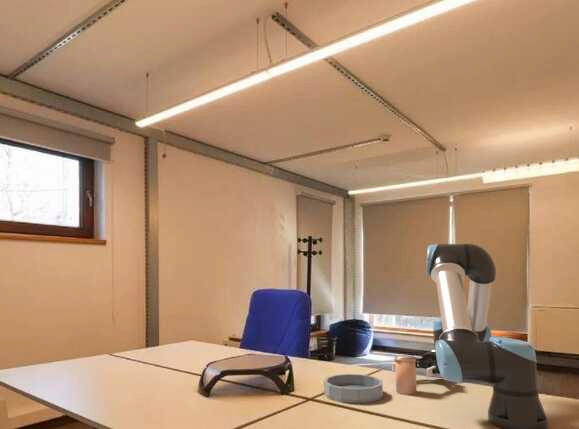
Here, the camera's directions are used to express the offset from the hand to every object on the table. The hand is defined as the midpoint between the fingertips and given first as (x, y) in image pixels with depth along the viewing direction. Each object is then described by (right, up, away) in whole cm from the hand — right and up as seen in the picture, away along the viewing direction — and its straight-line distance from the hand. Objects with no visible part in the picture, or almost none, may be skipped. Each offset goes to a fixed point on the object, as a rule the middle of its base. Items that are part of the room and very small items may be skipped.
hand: (409, 370), depth 156 cm
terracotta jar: (-2, -6, -4) cm, 8 cm away
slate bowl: (-21, -6, -6) cm, 23 cm away
